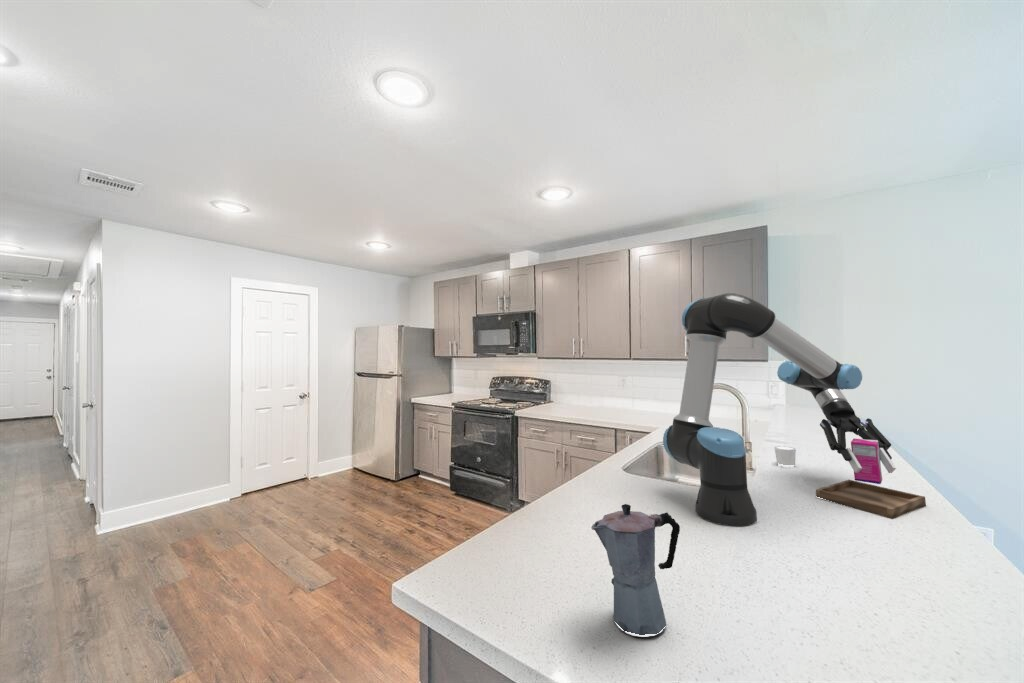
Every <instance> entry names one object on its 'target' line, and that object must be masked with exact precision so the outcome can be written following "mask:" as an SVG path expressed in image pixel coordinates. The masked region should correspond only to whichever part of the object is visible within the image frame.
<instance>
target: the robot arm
mask: <svg viewBox="0 0 1024 683" xmlns="http://www.w3.org/2000/svg"><path fill="white" fill-rule="evenodd" d="M681 323H682V326H683V329H684V330H685V331H686V335H685V337H686V338H687V339H688V340H689V342H690V343H689V348H688V355H687V361H686V368H685V375H684V382H683V388H682V394H681V401H680V408H679V413H678V414H677V415H676V416H674V417H673V420H672V425H669V426H668V428H666V429H665V431H664V433H663V436H662V444H663V447H664V449H665V452H666V453H667V455H668V456H669V457H670V458H671V459H673V460H675V461H677V462H678V463H681V464H684V465H687V466H689V467H692V468H695V469H698V470H699V480H700V486H699V489H698V493H697V497H696V501H695V504H694V508H695V513H696V515H697V516H698V517H700V518H702V519H703V520H706V521H708V522H710V523H714V524H718V525H724V526H731V527H744V526H751V525H753V524H755V523H756V522H758V516H757V515H758V513H757V509H756V507H755V506H754V503H753V500H752V497H751V495H750V493H749V492H750V491H749V489H748V476H747V456H746V452H747V449H746V447H745V441H744V438H743V436H742V435H741V434H739V432H736V431H734V430H732V429H728V428H721V427H717V426H716V427H715V426H714V425H713V424H712V421H710V413H711V407H712V399H713V398H712V397H713V393H714V386H715V378H716V372H717V366H718V365H717V364H718V358H719V352H720V346H721V344H724V343H725V342H726V340H727V334H728V333H729V332H737V333H741V334H744V335H745V336H746V337H748V338H750V339H758V340H759V341H760V342H761V343H763V344H765V345H766V346H767V347H769V348H771V349H772V350H774V351H775V352H777V353H778V354H779V355H781V356H782V357H783V358H786V359H787V360H786V361H783V362H782V363H781V364H780V365H779V366H778V368H777V372H776V374H777V377H778V379H779V380H781V381H782V382H784V383H786V384H788V385H791V386H794V387H797V388H800V389H803V390H805V391H808V392H810V393H811V395H812V396H813V398H814V399H815V401H816V402H817V404H818V406H819V408H820V409H821V411H822V413H823V415H824V416H825V418H826V419H824V418H822V419H821V421H820V423H819V426H820V427H821V429H822V430H823V432H824V436H825V437H826V440H827V442H828V446H829V449H830V450H831V451H836V452H837V454H840V455H842V457H843V460H844V461H845V462H848V463H849V466H851V468H852V470H853V473H854V472H855V473H858V472H859V471H860V470H861V469H862V467H861V465H860V464H859V462H858V460H857V459H856V457H855V455H854V454H853V452H852V448H851V447H847V439H846V433H853V434H855V435H856V436H859V437H860V439H866V440H878V445H879V454H880V463H881V464H882V466H884V468H885V470H886V471H887V473H888V474H892V473H893V472H894V471H895V470H897V467H896V465H895V464H894V462H893V461H892V458H893V457H892V456H891V454H890V453H889V451H888V450H889V448H891V446H892V443H891V442H890V441H889V440H888V438H886V437H885V436H884V435H883V433H882V432H881V431H880V430H879V429H878V428H877V427H876V426H875V425H874V423H873V420H872V419H871V418H869V417H867V418H866V419H862V418H860V417H858V416H857V415H856V413H855V412H856V411H855V410H854V408H853V407H852V405H851V403H849V402H848V399H847V398H846V396H845V395H844V393H843V392H842V391H841V390H854V389H857V388H858V387H860V385H861V383H862V381H863V373H862V370H861V369H860V368H859V367H858V366H857V365H855V364H849V363H844V364H842V363H841V362H839V361H837V360H836V359H834V358H833V357H831V355H829V354H827V353H826V352H824V350H822V349H820V348H819V347H817V345H815V344H813V343H812V342H810V341H809V340H807V339H806V338H805V337H803V336H802V335H800V333H797V332H796V331H794V330H793V329H792V328H791V327H789V326H788V325H786V324H785V323H783V322H782V321H781V320H779V319H778V318H777V316H776V313H775V312H774V311H773V310H772V309H770V308H769V307H767V306H765V305H764V304H762V303H760V302H759V301H757V300H755V299H753V298H751V297H747V296H745V295H743V294H739V293H733V292H730V293H729V292H727V293H722V294H719V295H714V296H709V297H702V298H699V299H697V300H694V301H692V302H690V303H688V304H687V306H686V307H685V308H684V310H683V312H682V314H681ZM832 427H833V428H835V429H836V430H835V431H836V435H837V437H836V436H835V433H834V430H833V428H832ZM836 438H837V439H836Z"/></svg>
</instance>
